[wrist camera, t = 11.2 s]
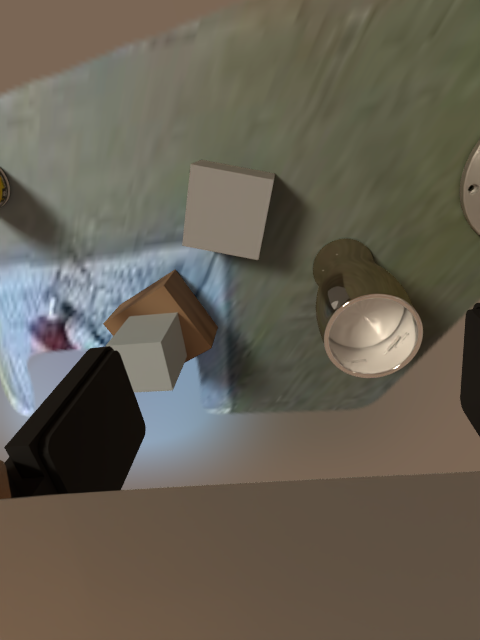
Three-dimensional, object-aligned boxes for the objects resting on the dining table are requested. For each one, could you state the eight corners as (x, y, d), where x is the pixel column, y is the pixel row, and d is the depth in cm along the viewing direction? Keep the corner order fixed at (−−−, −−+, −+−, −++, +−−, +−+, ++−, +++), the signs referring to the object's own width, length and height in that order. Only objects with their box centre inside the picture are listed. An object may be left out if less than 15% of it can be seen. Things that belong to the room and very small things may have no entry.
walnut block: (175, 268, 43) (163, 285, 38) (218, 325, 45) (211, 348, 41) (120, 304, 45) (103, 323, 41) (163, 356, 48) (151, 380, 43)
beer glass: (390, 245, 39) (446, 309, 26) (360, 307, 42) (397, 392, 29) (323, 224, 39) (344, 277, 25) (298, 287, 42) (306, 364, 28)
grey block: (274, 173, 37) (274, 179, 33) (260, 245, 40) (258, 260, 36) (201, 159, 37) (190, 164, 33) (193, 232, 41) (182, 245, 36)
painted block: (177, 312, 39) (160, 342, 34) (187, 355, 41) (172, 390, 36) (129, 316, 40) (105, 345, 35) (141, 358, 42) (120, 392, 37)
